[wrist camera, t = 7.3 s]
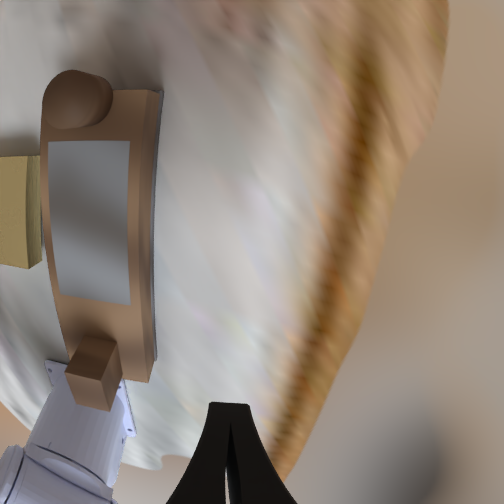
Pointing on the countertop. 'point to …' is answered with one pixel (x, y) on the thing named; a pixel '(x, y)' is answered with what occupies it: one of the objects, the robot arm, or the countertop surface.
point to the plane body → (101, 228)
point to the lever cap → (20, 211)
